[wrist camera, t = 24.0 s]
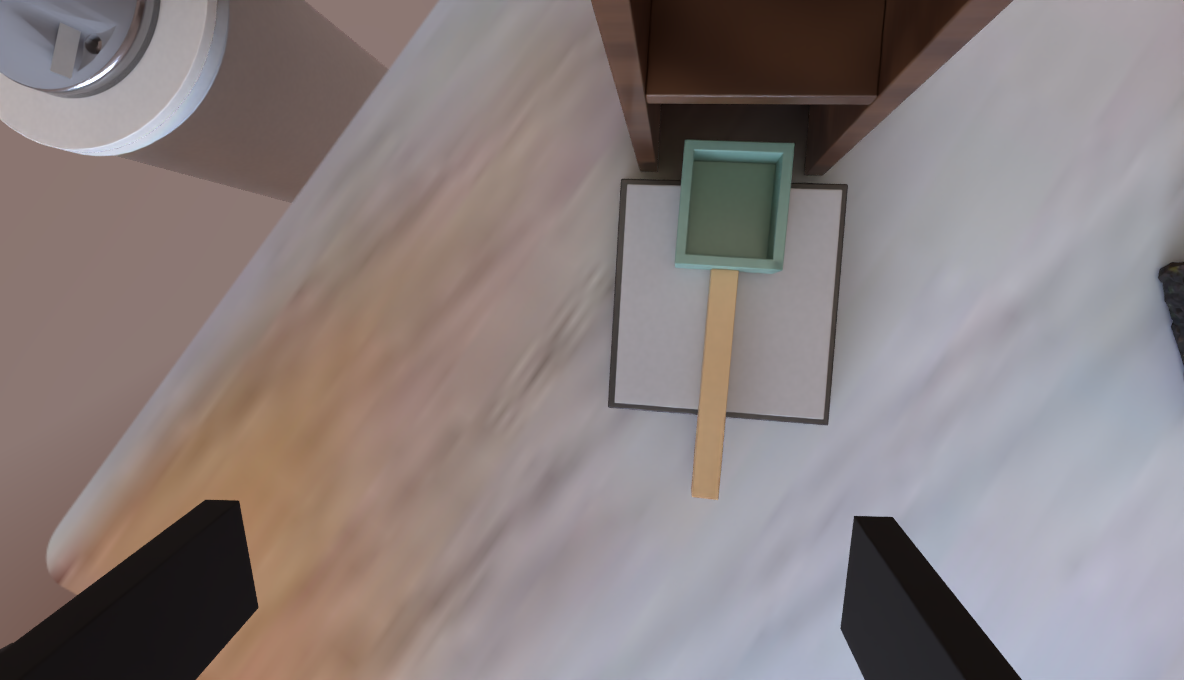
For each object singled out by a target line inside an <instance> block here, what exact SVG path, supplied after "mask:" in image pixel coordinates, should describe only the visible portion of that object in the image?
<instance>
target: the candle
mask: <svg viewBox="0 0 1184 680" xmlns="http://www.w3.org/2000/svg"><path fill="white" fill-rule="evenodd" d="M1158 278H1159V280H1160V281H1161V282H1162V283H1163V287H1164V292H1165V302H1166V304H1167V305H1168V307H1169V311H1170V315H1171V318H1172V320H1173V323H1172V326H1171V328H1172V330H1173V333H1174V336H1175V339H1176V342H1177V344H1178V347H1179V350H1180V354H1181V357H1182V360H1183V364H1184V262H1172V263H1170V264H1169V265H1167V266H1165V267H1164V268H1162V269H1160V272H1159V277H1158Z"/></svg>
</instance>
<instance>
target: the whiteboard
mask: <svg viewBox="0 0 1184 680" xmlns="http://www.w3.org/2000/svg"><path fill="white" fill-rule="evenodd" d="M847 189H848V185H847V184H813V183H791V190H790V200H789V211H788V221H787V231H786V242H785V252H784V263H783V270H782V271H779V272H776V273H773V274H764V273H749V272H739V275H738V286H737V297H736V308H735V320H734V331H733V342H732V353H731V364H730V375H729V386H728V397H727V408H726V417H730V418H743V419H755V420H767V421H780V422H792V423H804V424H817V425H828V420H829V408H830V396H831V384H832V371H833V359H834V347H835V335H836V323H837V311H838V298H839V286H840V274H841V262H842V250H843V238H844V226H845V213H846V201H847ZM680 191H681V180H649V179H621V190H620V207H619V224H618V242H617V259H616V276H615V294H614V311H613V329H612V346H611V363H610V381H609V398H608V407H609V408H620V409H632V410H644V411H657V412H669V413H681V414H694V415H698V406H699V394H700V383H701V371H702V360H703V348H704V337H705V325H706V314H707V303H708V291H709V280H710V270H703V269H687V268H675V251H676V239H677V227H678V215H679V203H680Z"/></svg>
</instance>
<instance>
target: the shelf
mask: <svg viewBox="0 0 1184 680" xmlns="http://www.w3.org/2000/svg"><path fill="white" fill-rule="evenodd" d="M1012 1H1013V0H591V2H592V6H593V9H594V13H595V16H596V20H597V23H598V27H599V30H600V33H601V37H602V40H603V44H604V47H605V51H606V54H607V58H608V61H609V65H610V68H611V72H612V75H613V79H614V82H615V86H616V89H617V93H618V96H619V100H620V103H621V107H622V110H623V113H624V117H625V120H626V124H627V127H628V131H629V134H630V138H631V141H632V145H633V148H634V152H635V155H636V159H637V162H638V166H639V169H640V171H645V172H657V170H658V154H659V138H660V121H661V105H662V103H678V104H810V108H809V121H808V134H807V147H806V160H805V172H804V174H805V175H824V174H825V173H826V172H827V171H828V170H829V169H830V168H831V167H832V166H833V165H834V164H836V163H837V162H838V161H839V160H840V159H841V158H842V157H843V156H844V155H845V154H846V153H848V152H849V151H850V150H851V149H852V148H853V147H854V146H855V145H856V144H857V143H858V142H860V141H861V140H862V139H863V138H864V137H865V136H866V135H867V134H868V133H869V132H870V131H872V130H873V129H874V128H875V127H876V126H877V125H878V124H879V123H880V122H881V121H882V120H884V119H885V118H886V117H887V116H888V115H889V114H890V113H891V112H892V111H893V110H894V109H896V108H897V107H898V106H899V105H900V104H901V103H902V102H903V101H904V100H905V99H906V98H908V97H909V96H910V95H911V94H912V93H913V92H914V91H915V90H916V89H917V88H918V87H920V86H921V85H922V84H923V83H924V82H925V81H926V80H927V79H928V78H929V77H930V76H932V75H933V74H934V73H935V72H936V71H937V70H938V69H939V68H940V67H941V66H942V65H944V64H945V63H946V62H947V61H948V60H949V59H950V58H951V57H952V56H953V55H954V54H956V53H957V52H958V51H959V50H960V49H961V48H962V47H963V46H964V45H965V44H966V43H968V42H969V41H970V40H971V39H972V38H973V37H974V36H975V35H976V34H977V33H978V32H980V31H981V30H982V29H983V28H984V27H985V26H986V25H987V24H988V23H989V22H990V21H992V20H993V19H994V18H995V17H996V16H997V15H998V14H999V13H1000V12H1001V11H1002V10H1004V9H1005V8H1006V7H1007V6H1008V5H1009V4H1010V3H1011V2H1012Z"/></svg>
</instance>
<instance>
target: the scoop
mask: <svg viewBox="0 0 1184 680" xmlns="http://www.w3.org/2000/svg"><path fill="white" fill-rule="evenodd" d="M794 148H795V143H780V142H751V141H721V140H691V139H686V140H685V143H684V155H683V167H682V179H681V191H680V203H679V215H678V227H677V239H676V251H675V268H687V269H703V270H710V280H709V291H708V303H707V314H706V325H705V337H704V348H703V360H702V371H701V383H700V394H699V406H698V417H697V429H696V440H695V451H694V463H693V474H692V486H691V492H692V497H697V498H705V499H714V500H718V496H719V485H720V474H721V463H722V452H723V441H724V430H725V419H726V408H727V397H728V386H729V375H730V364H731V353H732V342H733V331H734V320H735V308H736V297H737V286H738V275H739V272H749V273H764V274H773V273H776V272H779V271H782V270H783V263H784V252H785V242H786V231H787V221H788V211H789V200H790V190H791V179H792V169H793V158H794Z"/></svg>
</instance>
